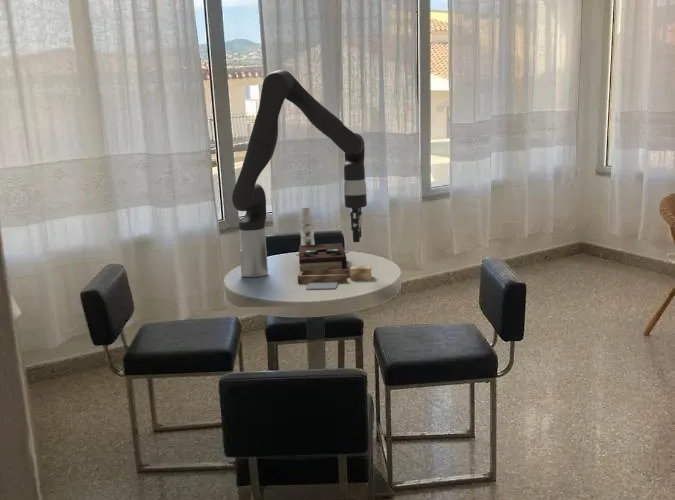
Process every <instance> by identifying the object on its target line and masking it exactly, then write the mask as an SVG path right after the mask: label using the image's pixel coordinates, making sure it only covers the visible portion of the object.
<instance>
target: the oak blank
mask: <svg viewBox="0 0 675 500" xmlns="http://www.w3.org/2000/svg"><path fill="white" fill-rule="evenodd" d="M372 276H373V275H372V265H366V266H365V265H358V266H357V265H356V266H354V265H353V266H350V268H349V277H350V280H351V281H353V280H354V281H355V280H356V281H357V280H361V281H362V280H363V281H364V280H372Z"/></svg>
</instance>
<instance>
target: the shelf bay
mask: <svg viewBox="0 0 675 500" xmlns="http://www.w3.org/2000/svg"><path fill="white" fill-rule="evenodd" d="M348 277H350V268H347V269H326V270H301V272H300V271H299V273H298V275H297V284H309V283H312V282H338V283H347V282H348Z"/></svg>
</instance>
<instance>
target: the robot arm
mask: <svg viewBox="0 0 675 500" xmlns="http://www.w3.org/2000/svg"><path fill="white" fill-rule="evenodd" d="M285 100H287V101H289V102H290V103H292V104H293V105H295V107H297V109H299V110H300V111H301V112H302V113H303V115H304V116H305V117H306V118H307V120H308V121H309V122H310V123H311V124H312V125H313V127H315V128H316V129H317V130H318V131H319V132H320V133H322V134H323V135H325V136H326V137H327V138H329V139H330V140H331V141H332V142H333V143H334V144H335V145H336V146H337V147H338V148H339V149H340V150H341V151H343V153H344V166H343V176H344V177H343V179H344V183H343V194H344V195H343V196H344V207H345V208H347V209H348V208H349V209H351V211H350V212H349V217H350V226H351V228H350V229H351V231H352V242H353V243H360V240H361V238H362V223H363V211H362V208H365V207H367V205H368V203H367V202H368V201H367V198H368V197H367V184H366V176H365V175H366V174H365V173H366V171H365V140H364V138H363V137H362V136H361V134H359V133H357V132H353V131H352V130H351V129H349V128H348V127H347V126H345V124H344V122H342V120H340V119H339V117H338V116H336V115H335V114H333V113H332V111H329V110H328V109H327V108H326V107H324V106H323V105H322V104H321V103H320V102H319V101H317V100H316V99H315V98H314V96H313V95H311V94H310V93H309V92H308V90H306V89H305V88H304V87H303V85H301V83H300V82H299V81H298V80H297V79H296V78H295V76H294V75H293V74H292V73H290V71H288V70H284V69H278V70H275V71H272V72H270V73H268V74H267V75H266V77H265V76H264V79H263V81H262V87H261V93H260V99H259V104H258V105H259V106H258V109H257V113H256V116H255V120H254V122H253V127H252V130H251V132H250V136H249V140H248V144H247V149H246V152H245V154H244V160H243V163H242V166H241V170H240V172H239V174H238V178H237V180H236V183H235V185H234V188H233V190H232V191H233V192H232V196H231V199H232V200H231V201H232V204H233V208H234V209H236V210H237V211H238V212H245V215H244V217H242V219H240V220H239V222H238V228H239V232H238V233H239V242H240V243H239V245H240V250H239V265H240V275H241V277H243V278H244V277H246V278H260V277H265V276H267V275H268V274H269V267H268V252H267V241H266V226H265V225H266V224H265V223H266V220H267V198H266V192H265V190H264V188H263V186H262V185H261V184H260V183H257V181H258V178H259V176H260V175H261V174H262V172H263V171H264V169H265V168H266V166H267V165H268V164H269V163H270V161H271V159H272V158H273V156H274V153H275V150H276V146H277V142H278V137H279V116H280V113H281V109H282V108H283V107H282V106H283V104H284V102H285Z"/></svg>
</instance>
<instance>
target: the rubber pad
mask: <svg viewBox="0 0 675 500" xmlns="http://www.w3.org/2000/svg"><path fill="white" fill-rule="evenodd" d="M338 285H339V282H312V283H307V285H306V288H305V290H307V291H308V290H309V291H310V290H311V291H312V290H315V291H316V290H336V289H337V287H338Z"/></svg>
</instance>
